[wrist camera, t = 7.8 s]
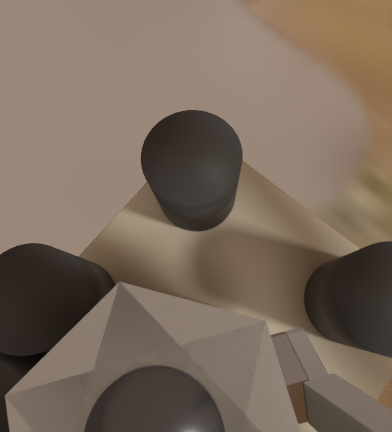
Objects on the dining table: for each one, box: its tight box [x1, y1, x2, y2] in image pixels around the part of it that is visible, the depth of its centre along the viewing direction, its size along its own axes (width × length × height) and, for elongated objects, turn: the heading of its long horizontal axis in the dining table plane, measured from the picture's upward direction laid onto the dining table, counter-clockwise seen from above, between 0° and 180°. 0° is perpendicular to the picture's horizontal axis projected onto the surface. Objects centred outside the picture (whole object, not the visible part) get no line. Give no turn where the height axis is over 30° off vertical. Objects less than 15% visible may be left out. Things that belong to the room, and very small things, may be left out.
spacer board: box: [0, 110, 392, 432], centre depth 15 cm, size 18×16×6 cm
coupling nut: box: [5, 282, 300, 432], centre depth 11 cm, size 5×4×12 cm
